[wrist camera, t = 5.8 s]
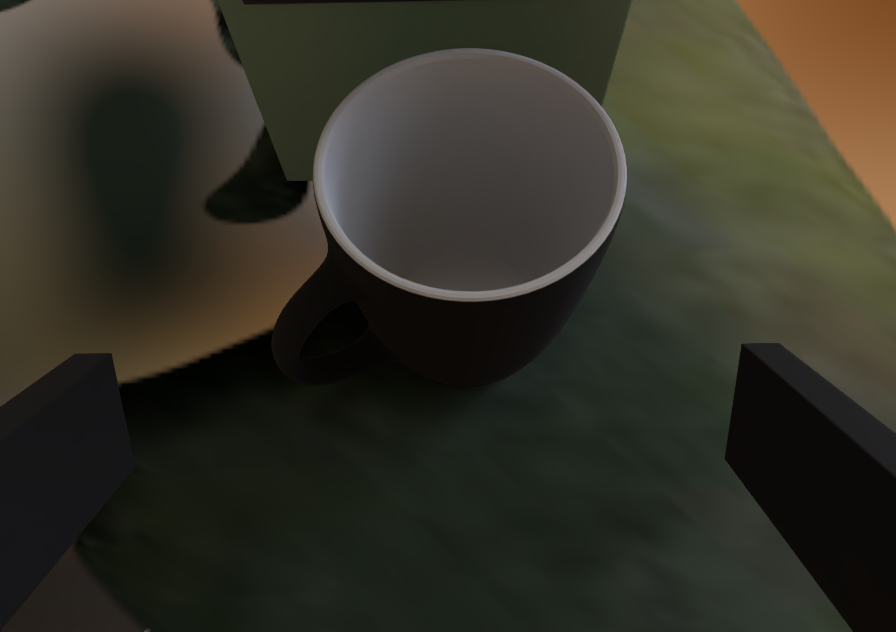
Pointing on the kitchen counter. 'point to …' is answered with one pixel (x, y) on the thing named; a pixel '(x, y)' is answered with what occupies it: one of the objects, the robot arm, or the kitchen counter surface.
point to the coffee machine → (399, 50)
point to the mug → (456, 217)
